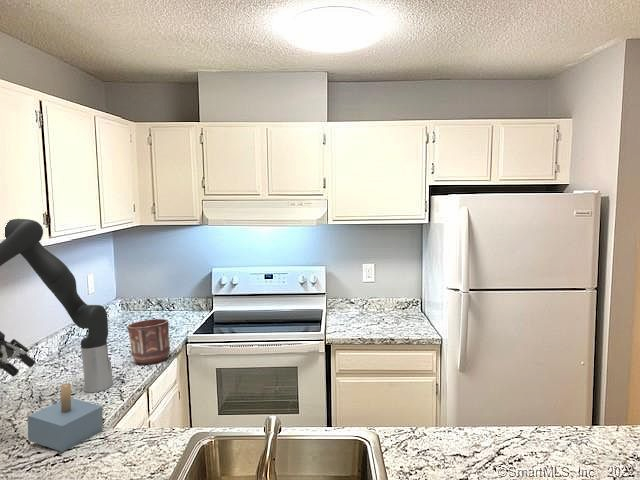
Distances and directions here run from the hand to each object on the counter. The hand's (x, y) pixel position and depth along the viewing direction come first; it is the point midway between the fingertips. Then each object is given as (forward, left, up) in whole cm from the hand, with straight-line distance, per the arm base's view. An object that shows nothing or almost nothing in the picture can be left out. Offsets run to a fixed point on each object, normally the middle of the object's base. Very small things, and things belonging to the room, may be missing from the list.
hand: (25, 369), depth 140 cm
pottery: (-74, -22, -22) cm, 80 cm away
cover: (-4, +10, -21) cm, 23 cm away
